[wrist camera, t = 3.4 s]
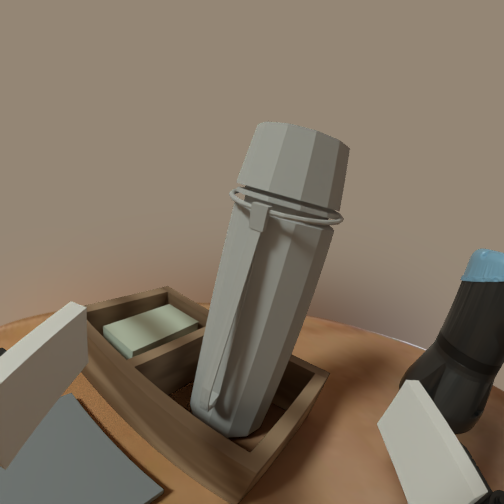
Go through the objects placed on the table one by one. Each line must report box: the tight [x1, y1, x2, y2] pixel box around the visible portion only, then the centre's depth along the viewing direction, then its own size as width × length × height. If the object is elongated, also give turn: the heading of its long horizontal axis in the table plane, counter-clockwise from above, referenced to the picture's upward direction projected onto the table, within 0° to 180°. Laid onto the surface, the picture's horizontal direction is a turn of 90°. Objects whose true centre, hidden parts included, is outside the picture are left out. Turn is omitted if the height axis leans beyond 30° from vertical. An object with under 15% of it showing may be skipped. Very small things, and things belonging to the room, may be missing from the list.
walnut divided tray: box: [81, 286, 330, 504], centre depth 25 cm, size 14×22×6 cm, turn 58°
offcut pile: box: [103, 304, 199, 360], centre depth 28 cm, size 10×5×5 cm, turn 151°
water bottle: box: [190, 122, 350, 438], centre depth 21 cm, size 9×8×25 cm
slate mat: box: [0, 393, 164, 504], centre depth 11 cm, size 12×12×1 cm
